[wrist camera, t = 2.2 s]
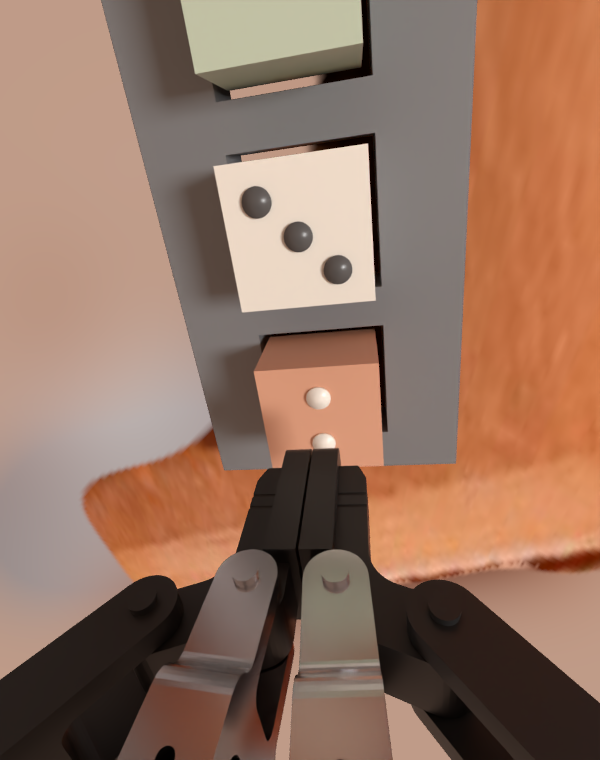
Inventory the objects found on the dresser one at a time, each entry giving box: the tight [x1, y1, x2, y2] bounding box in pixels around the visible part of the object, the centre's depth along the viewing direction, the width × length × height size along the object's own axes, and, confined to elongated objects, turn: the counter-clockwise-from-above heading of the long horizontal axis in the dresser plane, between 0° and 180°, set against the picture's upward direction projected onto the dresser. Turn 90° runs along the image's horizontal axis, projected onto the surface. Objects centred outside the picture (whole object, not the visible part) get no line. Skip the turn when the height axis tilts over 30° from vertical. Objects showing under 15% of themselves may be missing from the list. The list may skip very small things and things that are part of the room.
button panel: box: [101, 0, 477, 470], centre depth 15 cm, size 20×10×2 cm, turn 7°
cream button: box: [213, 144, 376, 313], centre depth 13 cm, size 4×4×3 cm
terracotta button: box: [254, 329, 384, 468], centre depth 16 cm, size 4×4×3 cm
